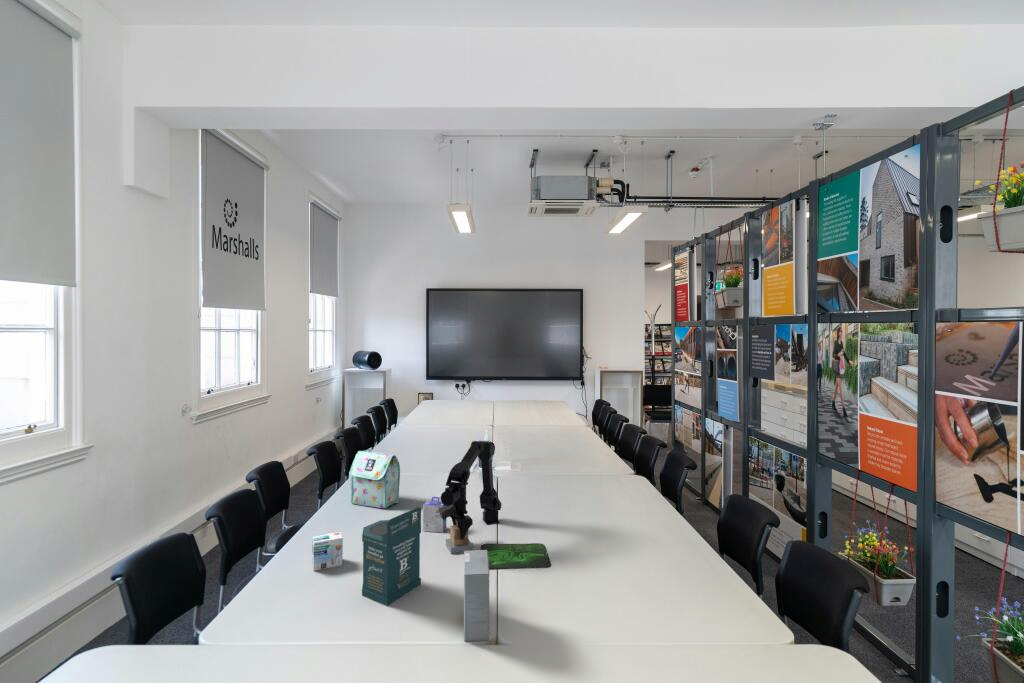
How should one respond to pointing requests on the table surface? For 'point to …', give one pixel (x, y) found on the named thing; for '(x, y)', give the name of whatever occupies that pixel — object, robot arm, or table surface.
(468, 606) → the hard drive box
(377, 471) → the lunch bag
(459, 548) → the base slab
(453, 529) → the walnut block
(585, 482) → the table surface
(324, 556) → the light bulb box
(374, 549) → the donation box
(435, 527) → the ink cartridge box
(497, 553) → the mouse mat
